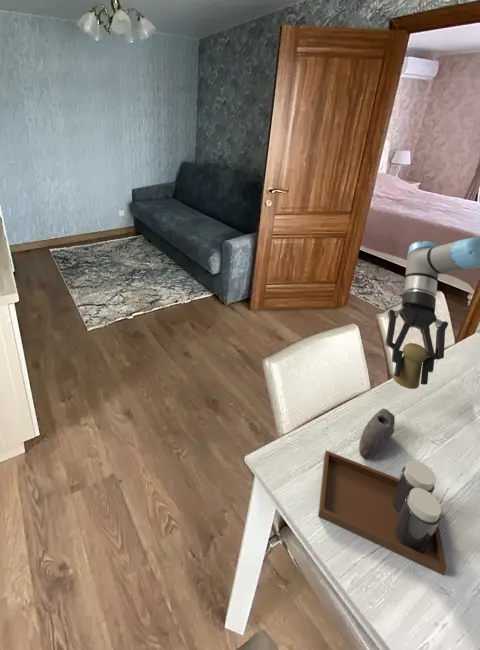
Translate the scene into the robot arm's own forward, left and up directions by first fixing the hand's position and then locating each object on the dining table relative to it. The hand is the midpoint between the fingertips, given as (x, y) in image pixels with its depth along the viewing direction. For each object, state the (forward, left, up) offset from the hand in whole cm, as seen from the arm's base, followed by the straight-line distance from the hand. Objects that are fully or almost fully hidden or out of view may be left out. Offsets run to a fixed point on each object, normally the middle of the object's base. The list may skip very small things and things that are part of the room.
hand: (410, 379), depth 88 cm
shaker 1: (0, +24, -15) cm, 28 cm away
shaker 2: (0, +30, -15) cm, 33 cm away
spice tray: (+6, +27, -15) cm, 31 cm away
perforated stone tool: (+6, +10, -16) cm, 19 cm away
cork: (0, -4, -4) cm, 5 cm away
